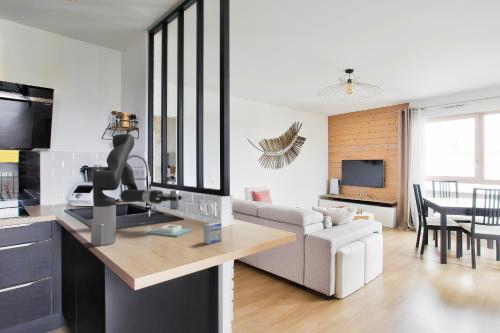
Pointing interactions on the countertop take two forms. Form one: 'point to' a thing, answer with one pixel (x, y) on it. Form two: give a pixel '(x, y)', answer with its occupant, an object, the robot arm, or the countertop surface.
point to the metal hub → (174, 204)
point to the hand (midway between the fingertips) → (178, 198)
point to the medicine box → (212, 233)
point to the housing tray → (170, 231)
